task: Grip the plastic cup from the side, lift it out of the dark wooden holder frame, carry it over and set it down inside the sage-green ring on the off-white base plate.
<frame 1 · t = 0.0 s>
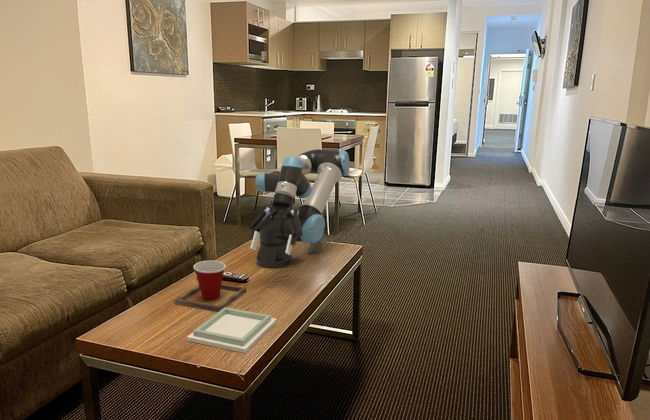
hand: (269, 251, 160), 15 cm above the table, tool tilted 35°, fingers open, 13 cm apart
holder frame: (211, 297, 159), on the table
plastic cup: (211, 298, 159), resting in holder frame
base plate: (233, 331, 136), on the table
grey irregular lump: (315, 249, 211), on the table
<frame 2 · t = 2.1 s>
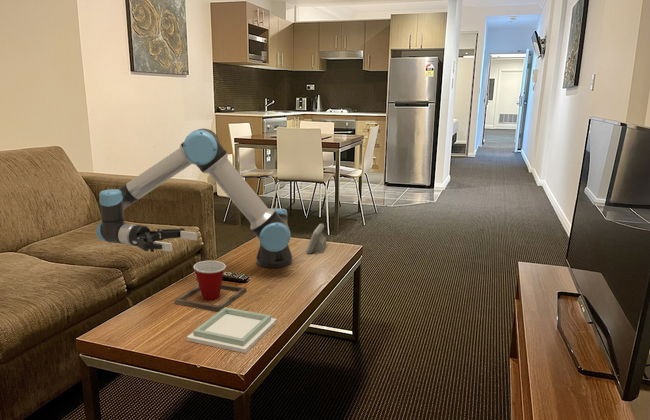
hand: (184, 241, 158), 19 cm above the table, tool horizontal, fingers open, 13 cm apart
nothing on the table moved.
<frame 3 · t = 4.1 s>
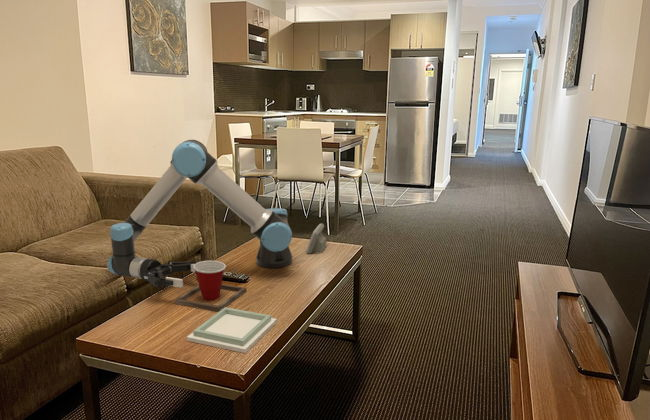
hand: (194, 276, 159), 7 cm above the table, tool horizontal, fingers open, 13 cm apart
nothing on the table moved.
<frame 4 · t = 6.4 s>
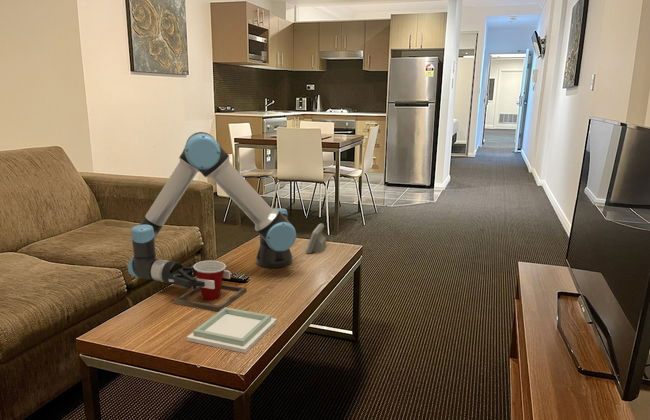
hand: (221, 279, 156), 7 cm above the table, tool horizontal, fingers closed on plastic cup, 9 cm apart
plastic cup: (211, 298, 159), resting in holder frame, touching gripper
everything else where it was.
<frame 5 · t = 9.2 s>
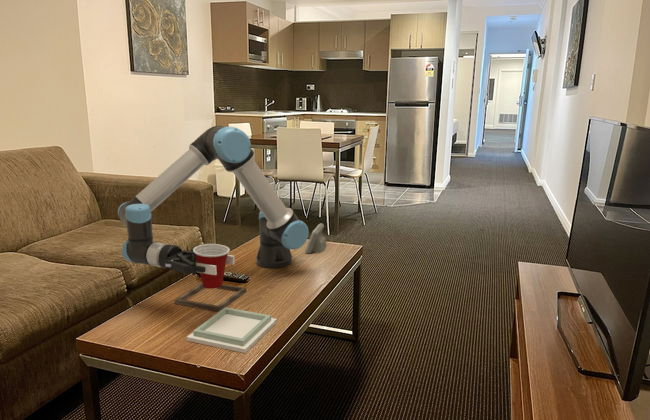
hand: (225, 265, 138), 18 cm above the table, tool horizontal, fingers closed on plastic cup, 9 cm apart
plastic cup: (213, 285, 142), point 11 cm above the table, touching gripper
everything else where it was.
when the fingers open (10 cm above the table, at t = 12.3 s): plastic cup drops 1 cm, resting on base plate.
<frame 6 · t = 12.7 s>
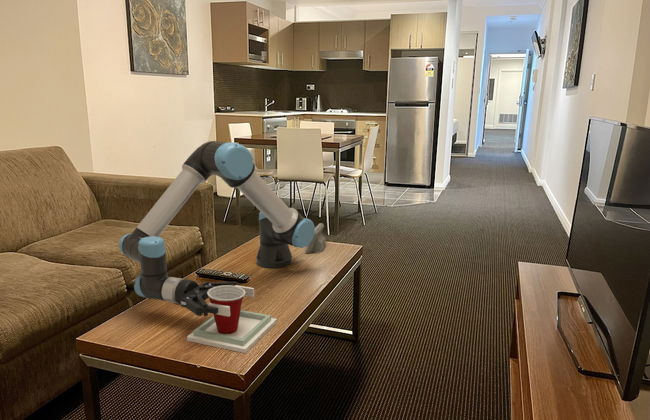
hand: (242, 301, 133), 10 cm above the table, tool horizontal, fingers open, 13 cm apart
plastic cup: (228, 330, 134), point 1 cm above the table, touching base plate, gripper
everything else where it was.
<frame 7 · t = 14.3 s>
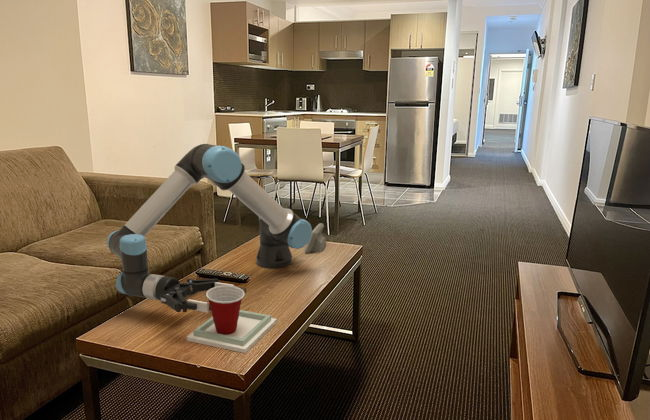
hand: (221, 298, 135), 10 cm above the table, tool horizontal, fingers open, 13 cm apart
plastic cup: (227, 331, 134), point 1 cm above the table, touching base plate
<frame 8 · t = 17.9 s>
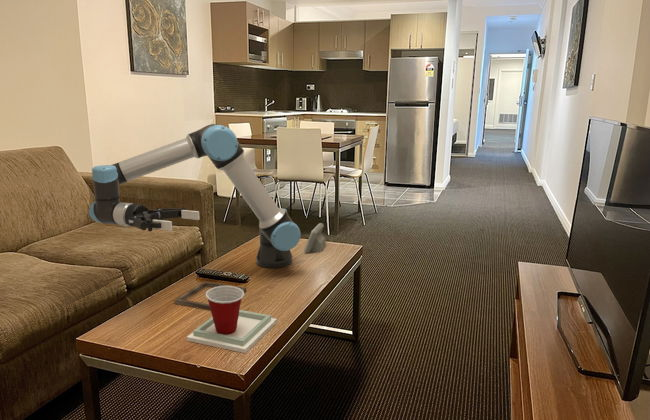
hand: (185, 220, 144), 30 cm above the table, tool horizontal, fingers open, 13 cm apart
at the end: plastic cup inside the target area on the base plate (2.3 cm from its centre), point 1.0 cm above the base plate's base; plastic cup tilted 0°; the gripper is holding nothing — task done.
